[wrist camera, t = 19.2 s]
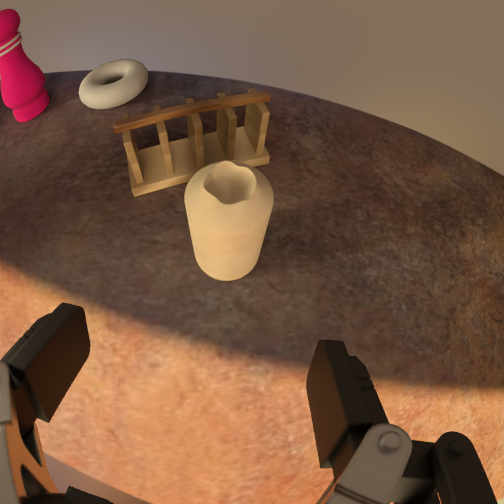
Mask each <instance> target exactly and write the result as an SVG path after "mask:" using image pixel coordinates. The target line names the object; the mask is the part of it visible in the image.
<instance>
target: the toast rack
mask: <svg viewBox="0 0 504 504" xmlns="http://www.w3.org/2000/svg"><path fill="white" fill-rule="evenodd" d="M270 98H271V95H270V93H269V92H268V91H263V92H257V91H256V90H255V88H252V89H248V93H247V94H240V95H233V96H226V95H225V93H224V92H223V93H217V98H214V99H208V100H203V101H198V102H194V100H193V98H189V99H185V103H186V104H183V105H178V106H174V107H169V108H165V109H161V106H160V105H158V106H154V107H153V110H154V111H153V112H149V113H145V114H141V115H138V116H134V117H130V118H129V114H128V113H127V114H124V115H121V120H120V121H117V122H114V123H113V129H114V132H115V134H117V133H121V132H122V134H123V144H124V147H125V150H126V153H127V161H128V169H129V176H130V183H131V190H132V192H133V195H134V197H135V196H139V195H142V194H146V193H149V192H153V191H156V190H160V189H163V188H167V187H171V186H175V185H178V184H182V183H186V182H189V181H190V179H191V178H192V177H193V176H194V174H196V173H197V172H198V171H199V170H201V169H202V168H204V167H206V166H208V165H210V164H213V163H217V162H222V161H225V160H226V161H235V162H240V163H244V164H247V165H250V166H252V167H255V166H260V165H265V164H269V160H270V155H269V153H268V151H267V149H266V147H265V145H264V142H265V137H266V131H267V126H268V120H269V115H270V112H269V110H268V109H267V107H266V106H265V104H264V102H270ZM242 105H246V114H245V123H244V127H238V128H236V126H237V116H236V114H235V112H234V110H233V108H232V107H235V106H242ZM212 110H217V132H212V133H207V134H203V125H202V122H201V119H200V116H199V114H198V113H202V112H207V111H212ZM182 116H187V126H188V137H189V138H184V139H180V140H176V141H172V142H169V141H168V135H167V130H166V126H165V122H164V121H165V120H169V119H174V118H178V117H182ZM153 123H156V126H157V131H158V137H159V142H160V145H156V146H152V147H149V148H145V149H141V150H138V147H137V144H136V140H135V136H134V133H133V129H135V128H138V127H142V126H145V125H149V124H153Z"/></svg>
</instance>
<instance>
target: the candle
mask: <svg viewBox="0 0 504 504" xmlns="http://www.w3.org/2000/svg"><path fill="white" fill-rule="evenodd" d="M273 202H274V195H273V190H272V187H271V185H270V183H269V181H268V180H267V178H266V177H265V176H264V175H263V174H262V173H261V172H260V171H258V170H257V169H255V168H254V167H252V166H250V165H247V164H244V163H240V162H235V161H226V160H225V161H222V162H217V163H213V164H210V165H208V166H206V167H204V168H202V169H201V170H199V171H198V172H197V173H196V174H194V176H193V177H192V178H191V179H190V181H189V182H188V185H187V187H186V190H185V206H186V212H187V217H188V222H189V228H190V233H191V238H192V243H193V248H194V253H195V257H196V260H197V263H198V264H199V266H200V267H201V269H202V270H203V271H204V272H205V273H206V274H207V275H209V276H211V277H212V278H215V279H218V280H223V281H231V280H236V279H239V278H242V277H243V276H245V275H246V274H248V273H249V272H250V271H251V270H252V269H253V267H254V266H255V264H256V262H257V260H258V257H259V254H260V250H261V247H262V243H263V239H264V236H265V232H266V229H267V225H268V221H269V218H270V214H271V211H272V207H273Z"/></svg>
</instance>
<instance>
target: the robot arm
mask: <svg viewBox="0 0 504 504" xmlns="http://www.w3.org/2000/svg"><path fill="white" fill-rule="evenodd" d="M89 353H90V339H89V334H88V329H87V323H86V317H85V312H84V309H83V308H82V307H81V306H76V305H72V304H68V303H61V304H60V305H59V306H58V307H57V308H56V309H55V310H54V311H53V312H52V313H49V314H47V315H45V316H43V317H41V318H40V319H38V320H37V321H36V322H35V323H34V324H33V325H32V326H31V327H30V330H27V331H26V332H25V333H24V335H23V337H21V338H20V339H19V340H18V341H17V342H16V343H15V344H14V345H13V347H12V348H11V349H10V350H9V351H8V352H7V353H6V354H5V356H4V357H3V358H2V359H1V360H0V504H113V503H112V502H110V501H108V500H106V499H104V498H101V497H98V496H95V495H92V494H89V493H86V492H84V491H81V490H79V489H76V488H74V487H71V486H69V487H68V490H67V492H66V494H65V493H59V492H58V490H57V488H56V486H55V485H54V482H53V481H52V479H51V477H50V475H49V472H48V469H47V466H46V462H45V458H44V454H43V450H42V446H41V441H40V437H39V432H38V428H37V425H36V424H35V420H36V419H37V418H38V419H41V420H43V421H45V422H48V423H49V422H50V420H51V418H52V416H53V415H54V413H55V411H56V409H57V408H58V406H59V404H60V403H61V401H62V399H63V397H64V396H65V394H66V392H67V391H68V389H69V387H70V386H71V384H72V383H73V381H74V379H75V378H76V376H77V374H78V373H79V371H80V370H81V368H82V366H83V365H84V363H85V362H86V360H87V358H88V356H89ZM306 389H307V395H308V401H309V406H310V411H311V417H312V422H313V428H314V434H315V439H316V445H317V451H318V457H319V463H320V468H332V469H333V474H334V479H333V480H332V482H331V483H330V485H329V486H328V488H327V489H326V490H325V492H324V493H323V495H322V496H321V497H320V499H319V500H318V501H317V503H316V504H390V502H394V504H440V500H441V503H442V504H498V503H497V501H496V498H495V495H494V493H493V490H492V488H491V485H490V483H489V480H488V478H487V475H486V473H485V471H484V468H483V466H482V464H481V461H480V459H479V457H478V455H477V452H476V450H475V448H474V446H473V444H472V442H471V441H470V440H469V439H468V438H467V437H466V436H465V435H463V434H461V433H459V432H453V431H452V432H446V433H444V434H443V435H441V436H440V438H439V439H438V440H437V441H436V442H435V443H432V442H423V441H415V440H411V438H410V437H409V435H408V434H407V433H406V432H405V431H404V430H403V429H402V428H400V427H398V426H396V425H393V424H389V422H388V419H387V417H386V414H385V412H384V409H383V407H382V404H381V402H380V400H379V397H378V395H377V392H376V390H375V389H374V385H373V383H372V380H370V376H369V373H368V371H367V369H366V366H365V365H364V364H363V363H362V362H361V361H360V360H359V359H358V358H357V357H356V356H349V355H348V352H347V350H346V347H345V345H344V343H343V341H336V340H319V342H318V344H317V347H316V350H315V353H314V356H313V359H312V362H311V366H310V369H309V372H308V375H307V382H306ZM437 493H438V494H439V497H440V500H439V497H438V494H437Z"/></svg>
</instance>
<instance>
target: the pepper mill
mask: <svg viewBox="0 0 504 504" xmlns="http://www.w3.org/2000/svg"><path fill="white" fill-rule="evenodd" d="M19 25H20V17H19V14H18V13H17V12H16V11H15V10H13V9H5V10H2V11H0V75H1V94H2V99H3V101H4V104H5V105H6V106H7V107H9V108H12V109H13V114H14V116H15V118H16V119H17V121H18V122H26V121H29V120H31V119H33V118H34V117H36V116H37V115H39V114H40V113H41V112H42V111H43V110H44V109H45V108H46V107H47V105H48V104H49V101H50V97H49V95H48V93H47V90H46V89H44V88H43V87H44V84H45V76H44V74H43V72H42V71H41V70H40V68H39V67H38V66H37V65H36V64H34V63H33V62H32V61H31V60H30V59H29V58H28V57H27V56H26V54H25V53H24V51H23V49H22V45H21V41H22V37H21V32H17V31H18V28H19Z"/></svg>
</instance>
